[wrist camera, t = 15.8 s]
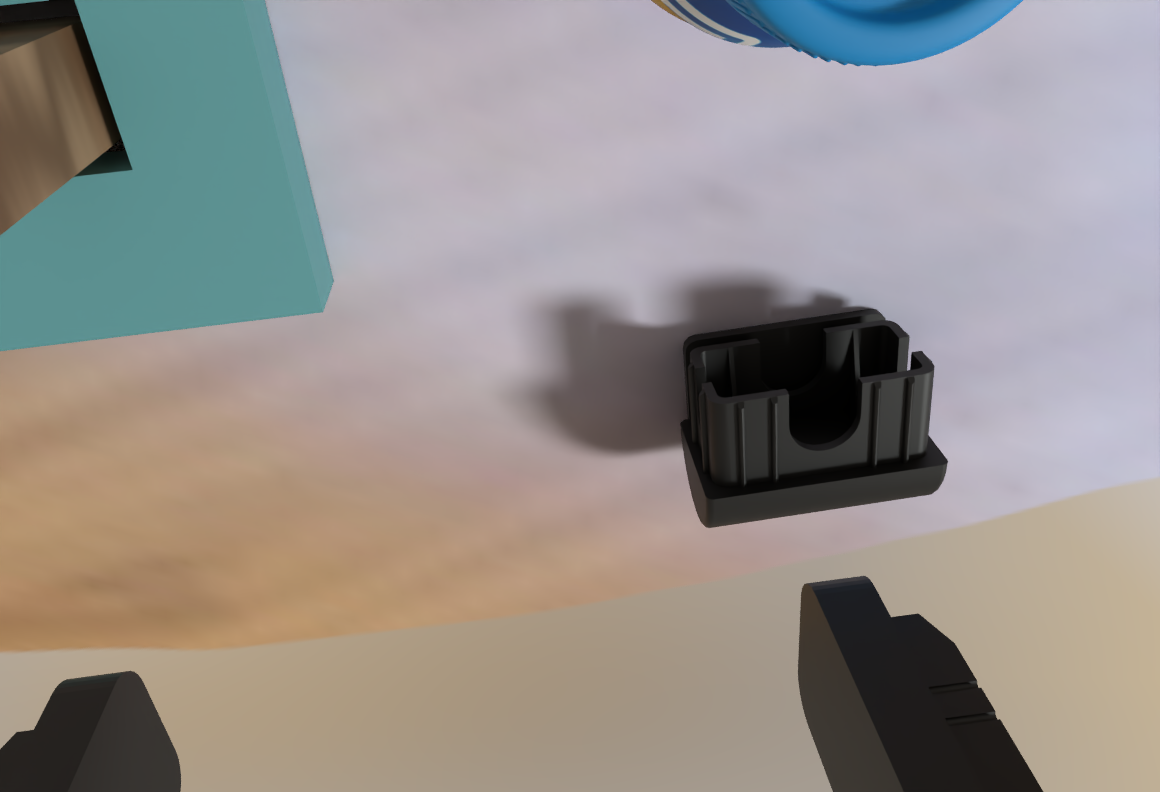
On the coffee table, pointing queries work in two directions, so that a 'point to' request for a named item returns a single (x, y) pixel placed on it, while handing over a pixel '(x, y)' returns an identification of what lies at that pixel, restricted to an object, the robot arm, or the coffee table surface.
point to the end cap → (806, 418)
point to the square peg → (48, 111)
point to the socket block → (173, 188)
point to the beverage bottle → (845, 25)
